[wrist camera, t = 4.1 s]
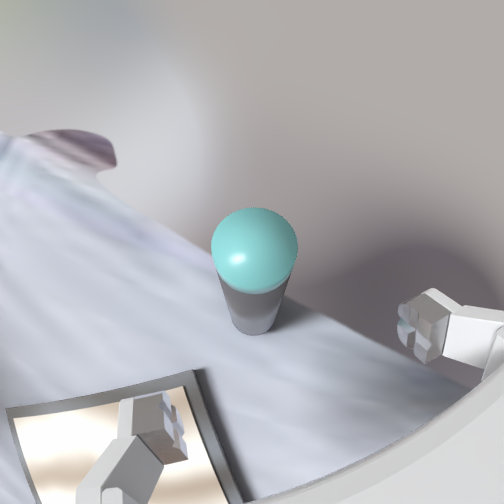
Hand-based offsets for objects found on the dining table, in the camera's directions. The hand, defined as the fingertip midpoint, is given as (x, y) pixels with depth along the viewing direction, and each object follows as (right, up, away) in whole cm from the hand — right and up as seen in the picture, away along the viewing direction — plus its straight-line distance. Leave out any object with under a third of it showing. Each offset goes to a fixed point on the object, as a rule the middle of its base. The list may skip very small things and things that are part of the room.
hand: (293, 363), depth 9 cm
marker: (-1, -1, +14) cm, 14 cm away
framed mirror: (-12, -15, +9) cm, 21 cm away
